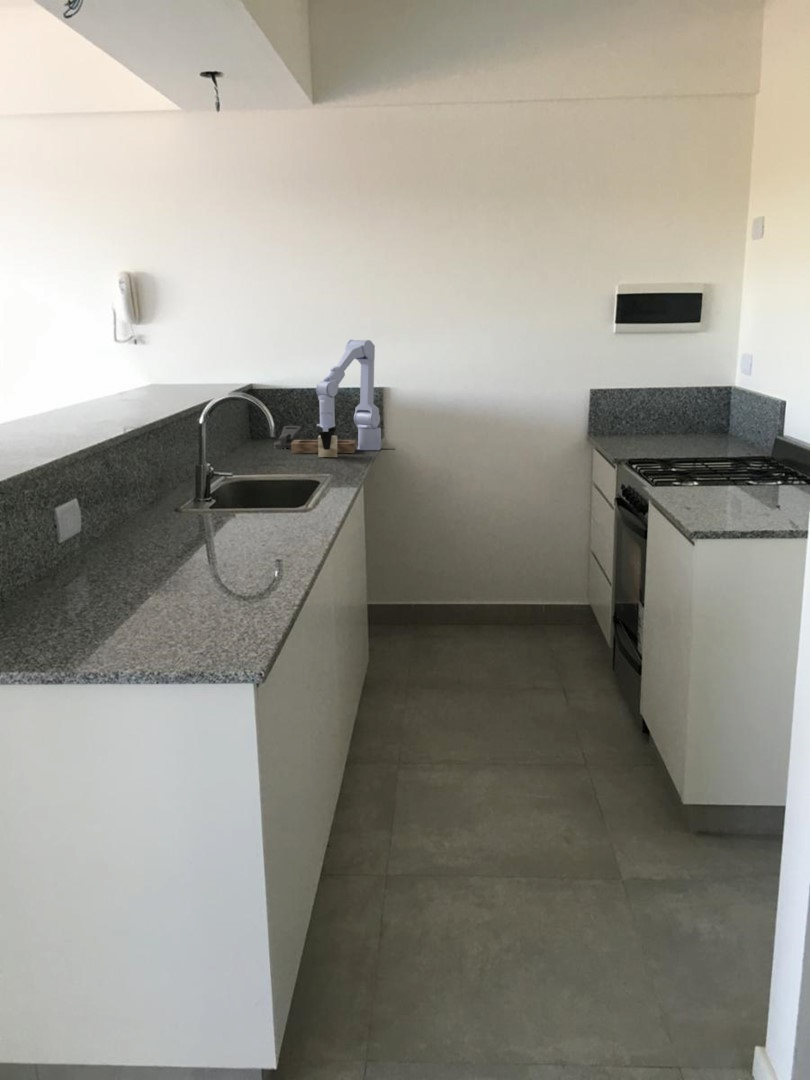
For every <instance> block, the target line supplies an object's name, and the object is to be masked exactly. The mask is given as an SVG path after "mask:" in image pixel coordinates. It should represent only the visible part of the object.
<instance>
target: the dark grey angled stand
mask: <svg viewBox="0 0 810 1080" xmlns="http://www.w3.org/2000/svg"><path fill="white" fill-rule="evenodd" d="M302 429H303V427H302V426H301V425H285V426H283V428H282V431H281V434H280V436H279V437H278V440H277V441H275V442H273V449H275V448H291V443H292V442H293V441H294V440H297V439H295V436H296V435H297V434H298V433H299V432H300V431H301V430H302Z"/></svg>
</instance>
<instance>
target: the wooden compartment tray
mask: <svg viewBox="0 0 810 1080" xmlns="http://www.w3.org/2000/svg"><path fill="white" fill-rule="evenodd" d="M356 441H357V440H356V439H355V440H354V439H353V440H352V439H337V453H354V452H355V453H356V451H357V443H356ZM355 450H356V451H355ZM302 453H318V439H296V440H294V441H293V442H292V443H291V449H290V454H302ZM355 453H354V454H355Z"/></svg>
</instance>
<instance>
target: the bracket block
mask: <svg viewBox="0 0 810 1080" xmlns="http://www.w3.org/2000/svg"><path fill="white" fill-rule="evenodd" d="M317 440H318V457H337V458H338V456H337V455H338V454H337V440H338V435H334V436H332V438H331V444H330V449H329V450H324V448H323V443H322V439H321V436H320V435H318V436H317Z"/></svg>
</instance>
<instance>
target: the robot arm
mask: <svg viewBox="0 0 810 1080" xmlns="http://www.w3.org/2000/svg"><path fill="white" fill-rule="evenodd" d="M344 350H345V351H344V353H343V354H342V356H341V357H340V360H339V361H338V363H337V365H336V366H331V368H330V369H329V372H328V373H327V375H325V377H324V378H323V380H321V381H319V382H318V383H317V385H316V388H315V392H316V395H317V400H318V401H319V423H317V424H316V427H320V428H321V430H319V431H318V434H319V436H321V439H322V443H323V448H324V450H329V449H330V444H331V438H332V436H335V433H336V429H337V427H336V422H335V417H336V416H335V415H336V413H335V396H336V395H338V391H339V390H338V389H339V385H340V384H341V382H342V381H343V379H344V377H345V376H346V374H345V371H346V370H347V369H348V368H349V366H350V365H351V364H352V363H353V361H354V360H356V361H358V363H359V364H360V384H359V385H360V387H359V388H360V390H359V391H360V392H359V395H360V396H359V397H360V398H359V404H357V406H355V410H354V415H353V422H354V424H355V425H356V428H357V429H358V430H357V432H358V434H357V435H358V436H357V437H358V441H357V443H358V444H357V445H358V446H357V447H356V451H381V448H382V446H383V445H382V428H381V427H378V426H379V425H380V422H381V416H380V408H379V407H378V406H376V405H375V404H374V393H375V392H374V389H375V385H374V383H375V382H374V381H375V352H376V351H375V350H376V349H375V344H374V343H373V342H372V340H370V339H365V340H364V339H363V340H360V339H349V340H348V341H347V343H346V344H345V346H344Z"/></svg>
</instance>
